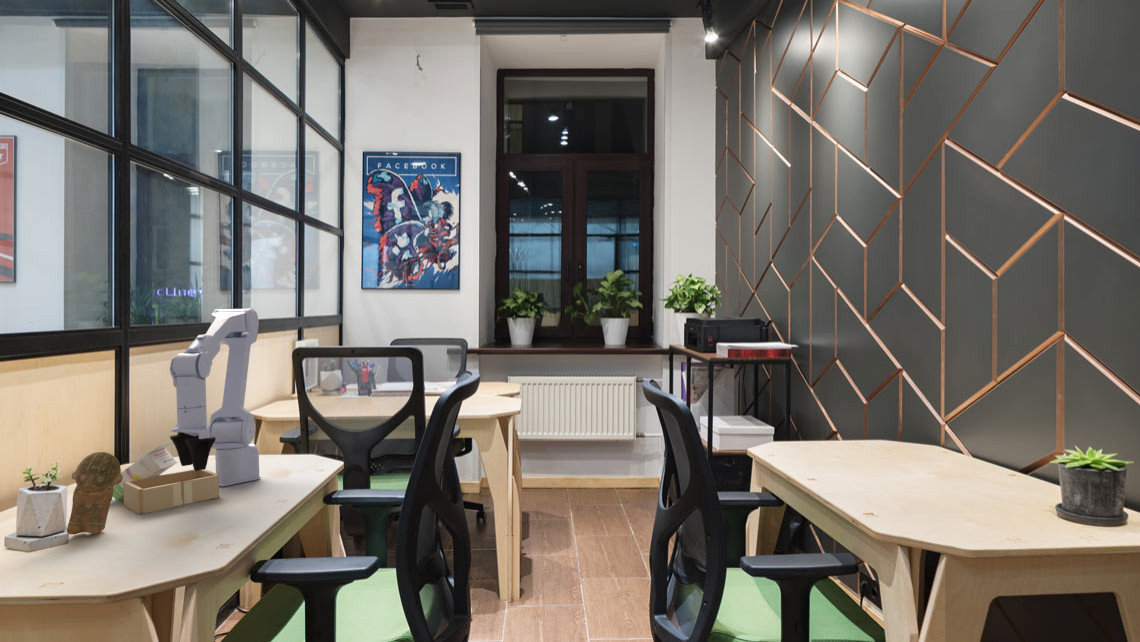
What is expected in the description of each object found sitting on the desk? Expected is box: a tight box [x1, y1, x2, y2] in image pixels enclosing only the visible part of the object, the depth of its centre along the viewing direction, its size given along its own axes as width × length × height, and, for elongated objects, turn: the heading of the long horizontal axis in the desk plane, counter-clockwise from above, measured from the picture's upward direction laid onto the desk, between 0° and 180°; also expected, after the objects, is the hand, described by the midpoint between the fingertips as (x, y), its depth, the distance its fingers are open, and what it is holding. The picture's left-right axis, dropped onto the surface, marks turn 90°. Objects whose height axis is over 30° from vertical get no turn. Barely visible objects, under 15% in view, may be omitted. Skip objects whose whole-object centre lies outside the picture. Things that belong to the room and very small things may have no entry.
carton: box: [123, 468, 220, 515], centre depth 148 cm, size 16×11×5 cm
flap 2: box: [182, 475, 219, 506], centre depth 147 cm, size 7×1×5 cm, turn 139°
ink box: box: [112, 440, 178, 502], centre depth 153 cm, size 9×5×15 cm
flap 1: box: [142, 482, 183, 514], centre depth 141 cm, size 7×1×5 cm, turn 139°
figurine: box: [66, 451, 123, 535], centre depth 127 cm, size 8×8×15 cm
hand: (193, 467), depth 145 cm, fingers open, 7 cm apart
